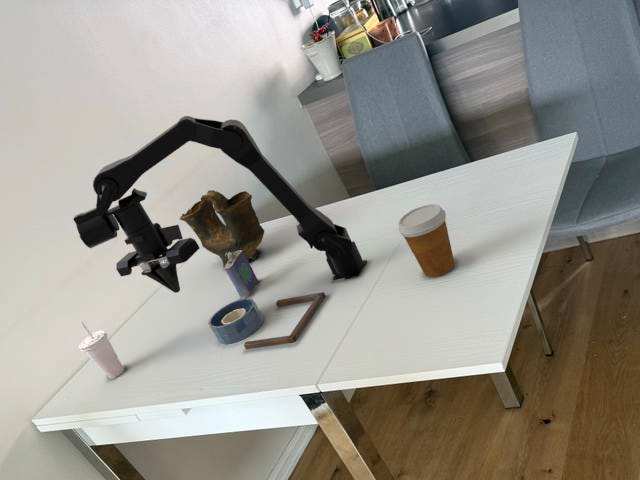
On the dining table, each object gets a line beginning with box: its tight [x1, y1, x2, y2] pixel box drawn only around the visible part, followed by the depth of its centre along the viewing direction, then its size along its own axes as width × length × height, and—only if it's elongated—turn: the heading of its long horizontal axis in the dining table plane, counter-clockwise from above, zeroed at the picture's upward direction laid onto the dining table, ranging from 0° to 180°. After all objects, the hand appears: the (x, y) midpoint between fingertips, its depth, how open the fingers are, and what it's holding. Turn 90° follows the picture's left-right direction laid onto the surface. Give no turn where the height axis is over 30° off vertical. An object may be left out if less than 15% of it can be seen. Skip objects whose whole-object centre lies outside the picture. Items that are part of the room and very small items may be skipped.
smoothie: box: [78, 321, 125, 379], centre depth 151 cm, size 6×6×14 cm
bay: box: [243, 291, 326, 350], centre depth 142 cm, size 12×16×2 cm
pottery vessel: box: [179, 189, 265, 269], centre depth 179 cm, size 25×11×20 cm, turn 56°
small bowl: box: [221, 308, 247, 325], centre depth 146 cm, size 6×6×3 cm
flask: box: [224, 250, 260, 299], centre depth 162 cm, size 9×3×11 cm, turn 172°
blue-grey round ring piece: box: [208, 297, 264, 345], centre depth 146 cm, size 11×11×5 cm
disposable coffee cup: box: [397, 203, 456, 278], centre depth 133 cm, size 10×10×12 cm
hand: (177, 291), depth 146 cm, fingers closed
